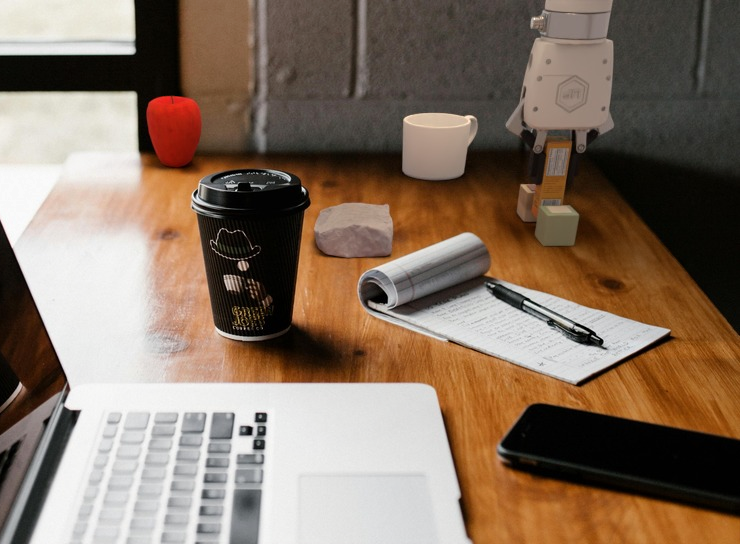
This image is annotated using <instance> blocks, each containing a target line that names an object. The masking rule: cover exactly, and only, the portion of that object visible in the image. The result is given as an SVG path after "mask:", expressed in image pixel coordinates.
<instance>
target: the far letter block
mask: <svg viewBox="0 0 740 544" xmlns="http://www.w3.org/2000/svg"><path fill="white" fill-rule="evenodd" d="M535 186H536V185H535V184H534V183H531V184H530V183H528V184H524V183H521V184H519V192H518V200H517V207H516V214H517V215H518V216H519V218H520V219H521V221H523V223H527V222H528V223H530V222H531V223H532V222H533V223H534V222H536V223H537V218H536V217H535V216H534V214H533V213H532V212H531V210H532V205H533V199H534V193H535Z"/></svg>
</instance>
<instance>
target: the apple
mask: <svg viewBox="0 0 740 544" xmlns="http://www.w3.org/2000/svg"><path fill="white" fill-rule="evenodd" d="M147 105H148V106H147V108H146V121H147V127H148V134H149V136H150V140H151V143H152V147H153V149H154V151H155V154H156V156H157V158H158V159H159V161H160V163H161V164H162V165H164V166H166V167H169V168H181V167H184V166H186V165H187V164H189V163H190V162H191V161H192V160H193V157H194V156H195V153H196V150H197V147H198V146H199V144H200V140H201V136H202V126H203V123H202V115H201V114H202V113H201V109H200V107H199V105H198V103H197V102H196V101H195V100H194V99H192V98H190V97H184V96H175V95H165V96H164V95H163V96H159V97H156V98H154V99H152V100H151V101H149V102H148V104H147Z"/></svg>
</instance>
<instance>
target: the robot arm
mask: <svg viewBox="0 0 740 544" xmlns="http://www.w3.org/2000/svg"><path fill="white" fill-rule="evenodd" d="M613 3H614V0H545V4H544V9H542V12H541V14H540V15H538V16H531V19H530V26H529V27H530V29H531V30H536V31H539V34H540V37H536V38H535V39H534V42H533V45H532V47H531V51H530V54H529V57H528V62H527V65H526V69H525V74H524V77H523V83H522V87H521V92H520V98H519V103H518V104H517V106H516V108H515V109H514V111H513V112H512V114H511V115H510V116H509V118H508V120H507V121H506V123H505V127H506V129H507V130H508V131H509V132H511V133H512V134H514V135H516V136H518V137H520V138H521V140H523V141H524V142H525V144H526V145H527V146H528V148H529V149H530V152H529V158H528V166H527V175H528V177H529V178H530V181H532V183H533V184H535V185H540V184H542V181H543V174H544V167H545V161H546V154H545V153H544V143H545V140H546V137H548V136H547V135H548V132H549V131H550V130H551V131H552V130H553V131H555V130H556V131H557V130H559V131H560V130H564V131H565V130H567V131H568V130H569V141H572V146H571V153H570V159H569V166H568V172H567V179H566V185H568V186H572V185H573V184H574V178H575V177H577V176H578V174H579V168H580V161H581V158H582V157H581V156H582V153H585V151H586V148H587V147H589V146H590V145H591V144H592V143H593V142H594V141H596V140H597V138H598V137H600V136H602V135H604V134H606V133H608V132H610V131H612V130H613V129H614V127H615V123H614V120H613V118H612V114H611V112H610V104H611V95H612V88H613V87H612V86H613V73H614V41H613V40H612V39H608V38H607V35H608V30H609V24H610V19H611V13H612V7H613ZM523 121H524V123H525V124H526V125H527V126H528V127H530V128H531V130H529V129H528V128H527V127H525V126H524V125H523V123H522V122H523Z"/></svg>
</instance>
